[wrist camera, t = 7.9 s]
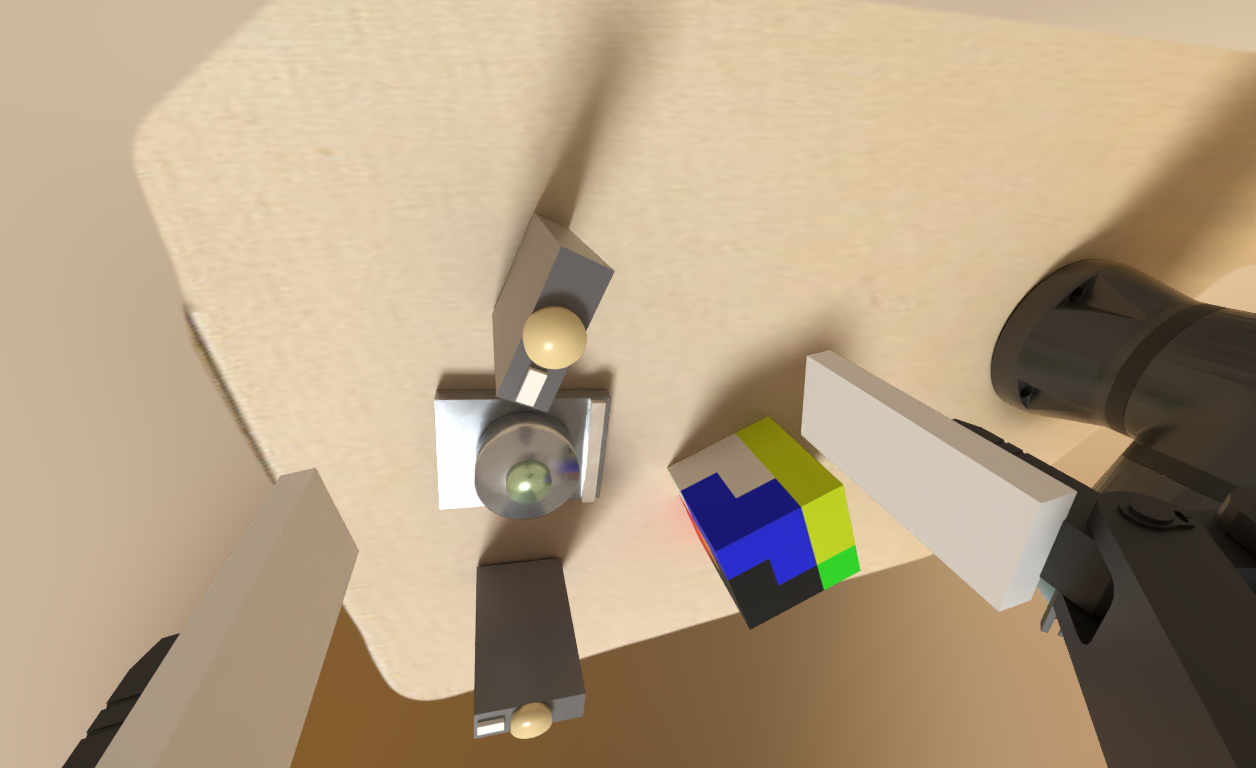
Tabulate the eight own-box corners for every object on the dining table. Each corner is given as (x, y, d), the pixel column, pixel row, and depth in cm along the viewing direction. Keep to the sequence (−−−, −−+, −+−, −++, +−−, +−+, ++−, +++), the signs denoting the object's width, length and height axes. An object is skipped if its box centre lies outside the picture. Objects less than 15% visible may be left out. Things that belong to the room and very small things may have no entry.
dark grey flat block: (532, 211, 29) (561, 247, 18) (570, 230, 30) (620, 275, 19) (490, 313, 31) (494, 402, 20) (528, 328, 32) (550, 419, 21)
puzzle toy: (666, 467, 41) (715, 551, 32) (768, 415, 41) (843, 484, 33) (699, 539, 46) (750, 629, 37) (790, 492, 46) (860, 570, 38)
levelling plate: (606, 389, 36) (624, 424, 31) (595, 486, 39) (609, 530, 35) (436, 390, 32) (428, 429, 28) (441, 496, 36) (435, 546, 31)
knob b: (560, 557, 41) (587, 701, 30) (558, 578, 42) (584, 726, 32) (476, 566, 39) (473, 724, 28) (477, 588, 40) (474, 749, 30)
